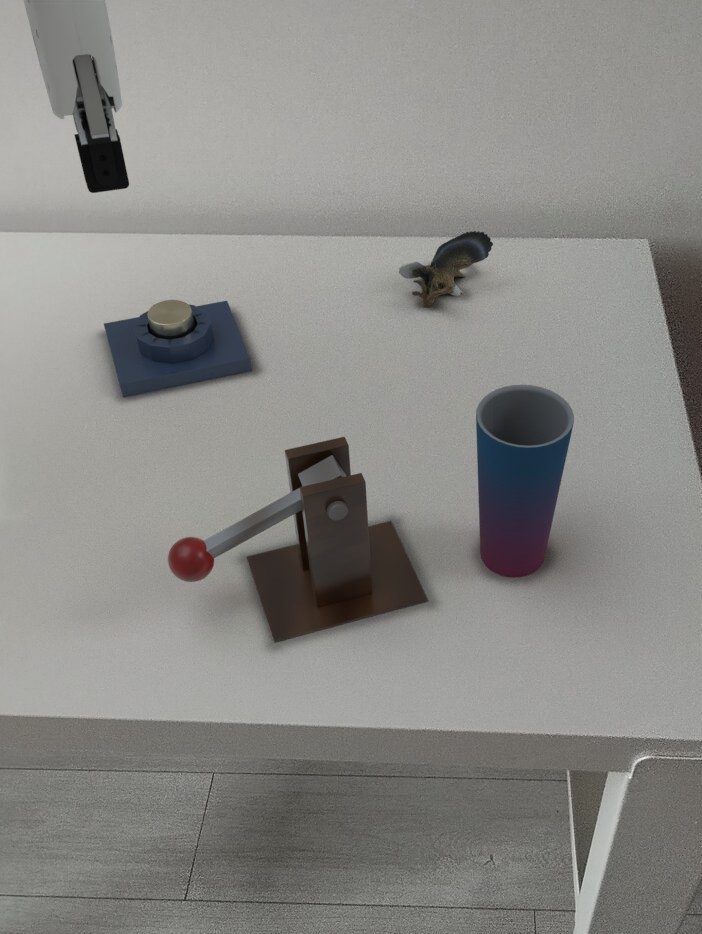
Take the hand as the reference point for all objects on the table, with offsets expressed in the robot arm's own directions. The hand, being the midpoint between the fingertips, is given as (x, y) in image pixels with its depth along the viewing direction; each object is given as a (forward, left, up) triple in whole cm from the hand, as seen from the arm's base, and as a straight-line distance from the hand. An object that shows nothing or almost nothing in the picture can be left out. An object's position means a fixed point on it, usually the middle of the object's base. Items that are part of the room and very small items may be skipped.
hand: (108, 185), depth 83 cm
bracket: (+9, -30, -19) cm, 37 cm away
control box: (+3, +3, -19) cm, 20 cm away
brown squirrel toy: (+31, +5, -20) cm, 37 cm away
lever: (+4, -30, -12) cm, 33 cm away
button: (+3, +3, -16) cm, 16 cm away
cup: (+23, -32, -20) cm, 44 cm away
